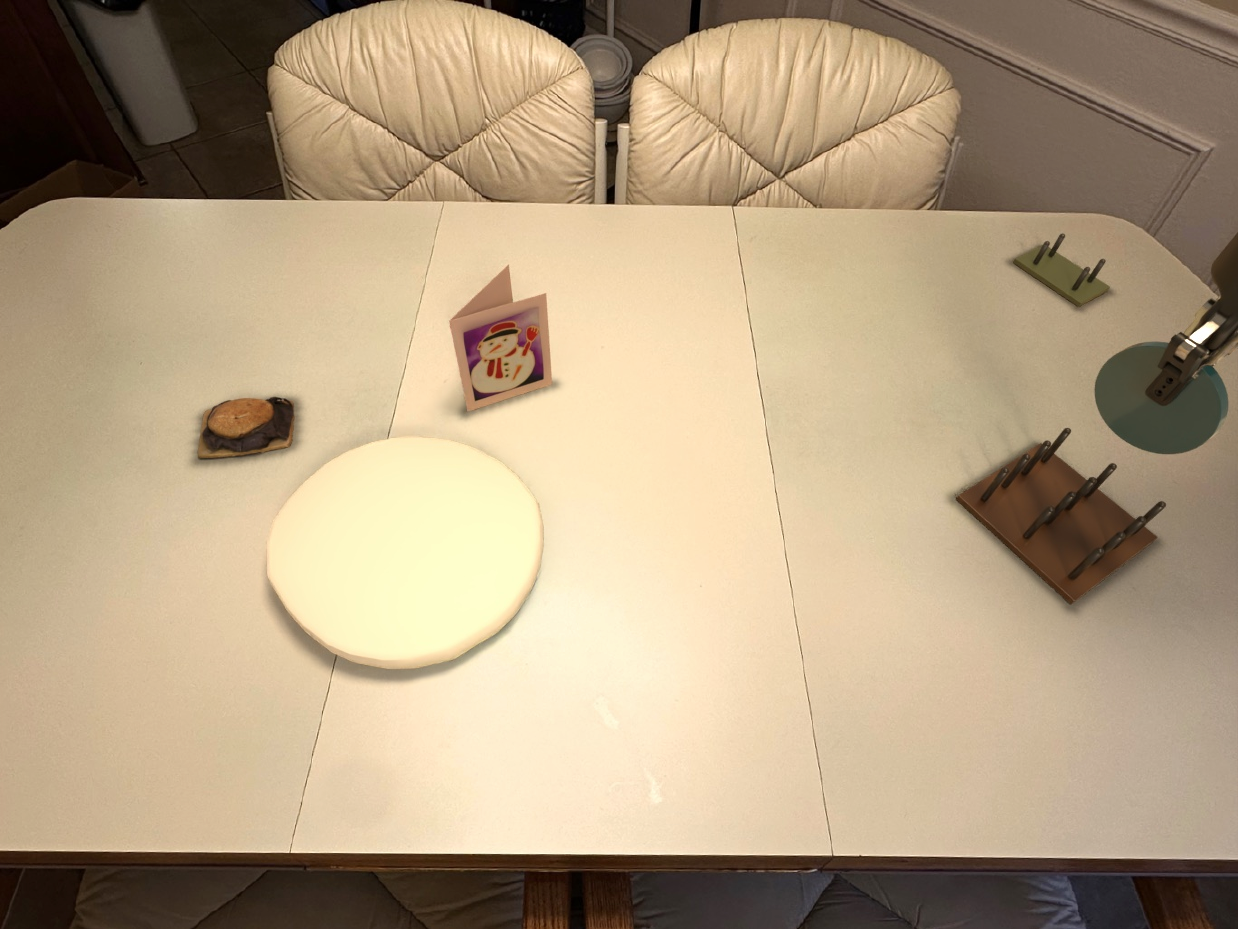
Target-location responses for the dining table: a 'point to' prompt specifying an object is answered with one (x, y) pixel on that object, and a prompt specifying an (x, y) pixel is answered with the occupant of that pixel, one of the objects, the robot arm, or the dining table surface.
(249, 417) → the brown piece
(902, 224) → the dining table surface
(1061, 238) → the drying stand
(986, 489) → the dish rack
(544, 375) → the greeting card
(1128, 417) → the small plate
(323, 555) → the plate
